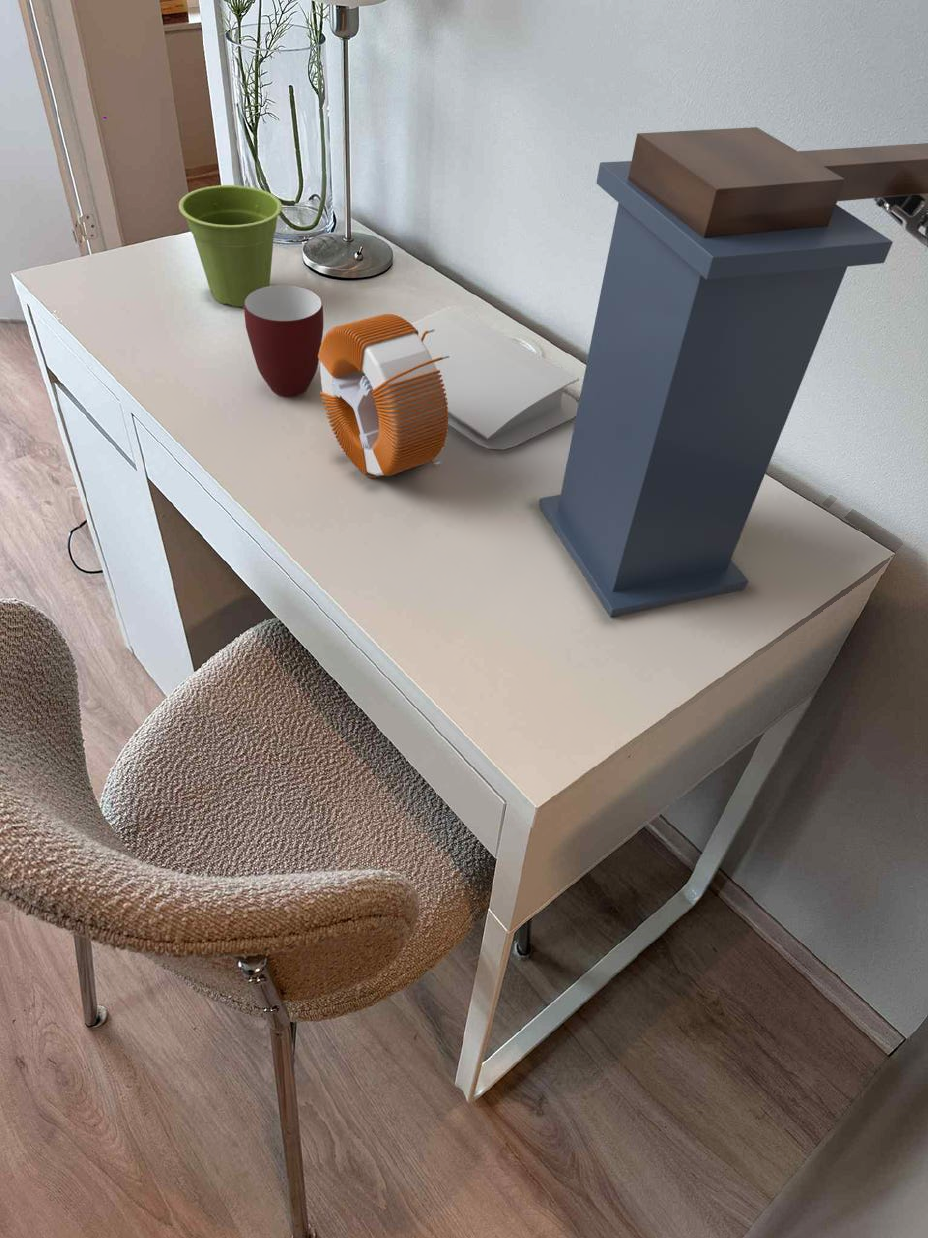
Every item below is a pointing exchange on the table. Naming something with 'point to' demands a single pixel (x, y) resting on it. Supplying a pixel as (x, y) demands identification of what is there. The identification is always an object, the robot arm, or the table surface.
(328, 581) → the table surface
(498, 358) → the book
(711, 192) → the paddle
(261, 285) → the plant pot
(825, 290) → the blue tapered column stand
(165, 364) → the table surface
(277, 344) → the mug
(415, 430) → the coil
